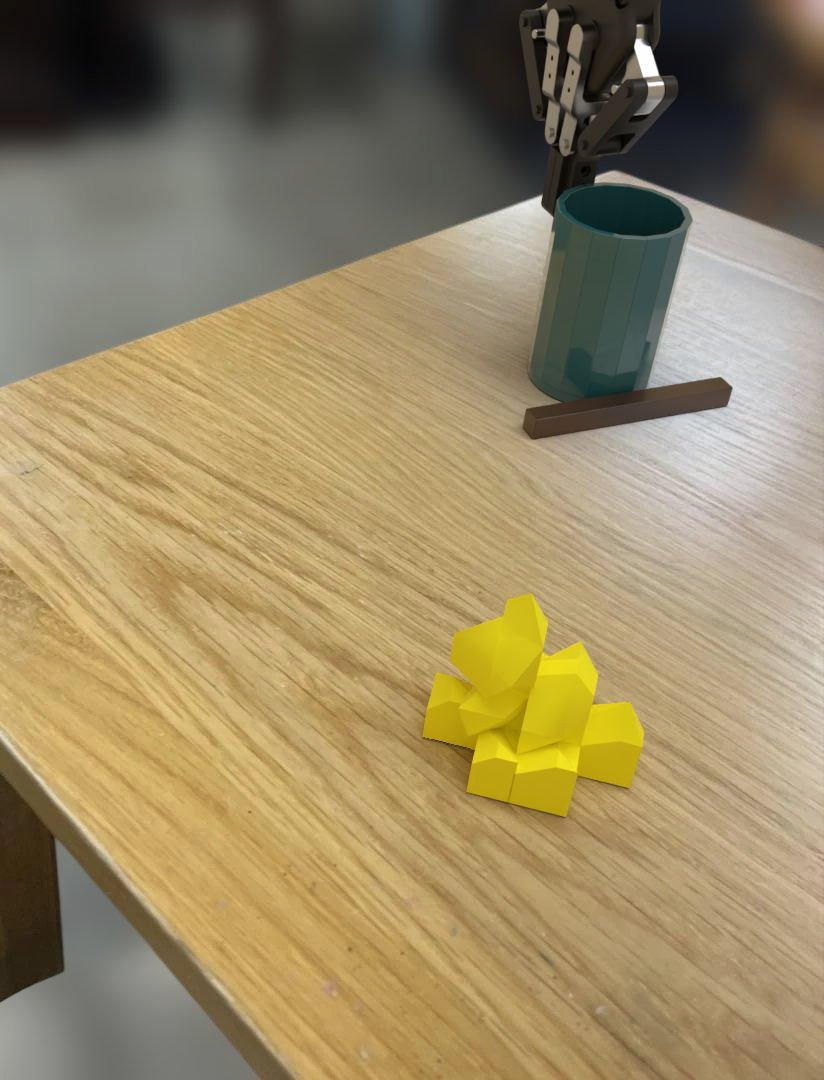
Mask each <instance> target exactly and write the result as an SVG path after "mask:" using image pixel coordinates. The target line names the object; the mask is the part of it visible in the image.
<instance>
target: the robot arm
mask: <svg viewBox="0 0 824 1080" xmlns="http://www.w3.org/2000/svg"><path fill="white" fill-rule="evenodd" d="M661 2H662V0H546V2H545V3H544V4H543V5H542V6H540V7H539V8H535V9H524V10H521V12H520V15H519V19H518V23H519V24H518V25H519V33H520V39H521V46H522V54H523V60H524V67H525V73H526V80H527V86H528V87H527V88H528V93H529V99H530V106H531V113H532V117H533V119H534V120H535V121H536V122H540V121H544V122H545V126H544V138H545V141H546V143H547V144H548V145H550V148H549V154H548V158H547V164H546V170H545V177H544V181H543V189H542V195H541V200H540V206H541V208H542V209H543V210H545V211H546V212H547V214H549V215H550V216H551V217H552V219H553V218H554V212H555V207H556V201H557V199H558V198H559V197H560V196H561V195H562V193H563V192H564V191H566V190H568V189H571V188H573V187H576V186H578V185H582V184H591V183H596V182H595V181H596V177H597V173H598V169H599V162H600V160H601V158H602V156H610V155H620V154H627V153H628V152H629V150H631V149H632V147H633V146H635V144H636V143H638V141H639V140H640V138H642V136H644V134H645V133H646V132H647V131H648V130H649V128H650V127H652V125H653V124H654V123H655V122H656V121H657V120H658V119H659V118H660V116H662V115H663V113H665V111H666V110H667V109H668V108H669V107H670V106H671V104H673V102H674V101H675V100H676V99H677V96H678V93H679V82H678V79H677V77H676V76H674V75H663V76H661V75H660V73H659V68H658V66H657V62H656V59H655V55H654V53H653V52H654V50H655V49H656V47H657V46H658V43H659V41H660V37H661V22H660V20H661V19H660V17H661V16H660V15H661V13H660V12H661Z"/></svg>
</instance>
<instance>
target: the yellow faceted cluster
mask: <svg viewBox="0 0 824 1080" xmlns="http://www.w3.org/2000/svg"><path fill="white" fill-rule="evenodd" d="M505 602H506V603H505V607H504V611H503V615H502V616H498V617H496V618H493V619H490V620H487V621H484V622H482V623H479V624H476V625H473V626H470V627H468V628H465V629H461V630H459V631H457V632H454V634H453V638H452V644H451V650H450V657H449V662H450V663H452V665H453V666H454V667H455V668H456V669H457V670H458V671H459V672H460V673H461V675H462V676H464V677H465V678H466V679H467V680H468V681H469V682H467V681H466V680H463V679H461V678H460V677H457V676H454V675H450V674H446V673H441V672H435V674H434V675H435V676H434V680H433V684H432V687H431V688H432V689H431V692H430V696H429V700H428V704H427V707H426V711H425V716H424V724H423V731H422V738H423V737H425V738H424V739H427V738H429V739H428V740H431V739H435V740H439V741H443V742H447V743H450V744H449V745H451V744H454V745H453V746H455V745H459V746H463V747H468V748H470V749H469V750H472V751H474V752H473V756H472V761H471V764H470V765H471V766H470V771H469V775H468V780H467V781H468V782H467V786H466V791H465V792H466V793H467V794H468V793H469V794H472V795H476V796H481V797H485V798H488V799H492V800H496V801H500V802H503V803H508V804H512V805H516V806H520V807H523V808H524V807H525V808H528V809H532V810H535V811H539V812H543V813H548V814H551V815H556V816H559V817H563V818H567V817H568V816H567V815H568V813H569V809H570V805H571V802H572V798H573V795H574V790H575V787H576V783H577V779H578V777H581V778H586V779H590V780H595V781H599V782H602V783H606V784H610V785H613V786H614V785H615V786H618V787H622V788H626V789H630V787H631V785H632V781H633V780H634V779H633V778H634V776H635V772H636V769H637V766H638V763H639V760H640V757H641V755H642V750H643V748H644V739H645V729H644V728H643V726H642V724H641V721H640V720H639V717H638V716H637V713H636V711H635V709H634V707H633V704H632V703H631V701H622V702H621V701H620V702H611V703H597V704H593V703H594V700H595V695H596V691H597V684H598V680H599V679H598V678H599V673H598V671H597V669H596V668H595V665H594V664H593V662H592V659H591V658H590V655H589V654H588V652H587V650H586V647H585V646H584V644H583V642H582V640H580V641H578V642H577V641H576V643H573V644H572V645H569V646H568V647H565V648H564V649H561V650H559V651H558V652H555V653H554V654H550V655H548V654H546V653H545V652H544V647H545V643H546V637H547V632H548V626H549V621H548V620H547V618H546V616H545V614H544V612H543V611H542V609H541V607H540V606H539V603H538V602H537V600H536V598H535V597H534V595H533V593H532V592H530V593H526V594H522V595H519V596H516V597H511V598H507V599H506V601H505ZM435 740H434V741H435ZM439 741H438V742H439ZM443 742H442V743H443ZM447 743H446V744H447ZM459 746H458V747H459ZM463 747H462V748H463ZM468 748H467V749H468Z"/></svg>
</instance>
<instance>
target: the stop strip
mask: <svg viewBox="0 0 824 1080" xmlns="http://www.w3.org/2000/svg"><path fill="white" fill-rule="evenodd" d="M733 390H734V388H733V386H732V385H731V384H730V383H729V382H728V381H726V380H725V379H724V378H723V377H721V376H718V377H712V378H704V379H699V380H693V381H686V382H680V383H673V384H668V385H662V386H656V387H650V388H649V387H648V389H643V390H637V391H631V392H624V393H618V394H612V395H606V396H600V397H594V398H588V399H582V400H575V401H569V402H563V401H562V402H557V403H551V404H545V405H539V406H532V407H527V408H526V409H525V411H524V417H523V423H522V428H523V429H524V430H525V432H526V433H527V434H528V435H529V436H530V438H531V439H533V440H534V439H539V438H545V437H551V436H552V437H553V436H556V435H562V434H563V435H564V434H569V433H574V432H580V431H581V432H582V431H586V430H593V429H599V428H604V427H610V426H615V425H622V424H627V423H633V422H639V421H645V420H650V419H651V420H652V419H657V418H663V417H667V416H668V417H670V416H675V415H680V414H687V413H691V412H698V411H705V410H710V409H715V408H721V407H727V406H728V405H729V402H730V400H731V399H730V398H731V396H732V392H733Z"/></svg>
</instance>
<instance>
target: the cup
mask: <svg viewBox="0 0 824 1080" xmlns="http://www.w3.org/2000/svg"><path fill="white" fill-rule="evenodd" d="M693 222H694V219H693V216H692V213H691V212H690V209H689V208H688V207H687V206H686V205H684V203H682V202H680V200H678V199H677V198H675V197H673V196H671V195H669V194H666V193H664V192H662V191H660V190H656V189H654V188H650V187H645V186H642V185H636V184H631V183H626V182H625V183H623V182H622V183H621V182H609V181H608V182H607V181H600V182H595V183H591V184H582V185H578V186H576V187H573V188H571V189H568V190H566V191H564V192H563V193H562V195H561V196H560V197H559V198H558V199H557V201H556V207H555V212H554V218H553V217H552V224H551V230H550V234H549V240H548V246H547V251H546V257H545V262H544V268H543V273H542V279H541V285H540V290H539V295H538V299H537V300H538V301H537V307H536V310H535V311H536V312H535V317H534V322H533V329H532V332H531V338H530V345H529V350H528V356H527V357H528V363H527V366H526V367H527V368H526V369H527V375H528V377H529V379H530V381H531V382H532V384H534V385H535V386H536V387H537V388H538V389H539V390H540V391H542V392H543V393H544V394H546V395H548V396H549V397H551V398H553V399H555V400H558V401H559V402H562V403H563V402H569V401H575V400H582V399H588V398H594V397H600V396H606V395H612V394H618V393H624V392H631V391H637V390H643V389H649V387H650V382H651V380H652V379H653V375H654V371H655V367H656V364H657V360H658V356H659V353H660V349H661V345H662V340H663V336H664V334H665V329H666V326H667V322H668V318H669V314H670V310H671V306H672V302H673V298H674V294H675V291H676V286H677V282H678V279H679V275H680V271H681V268H682V263H683V259H684V256H685V253H686V252H685V251H686V248H687V245H688V241H689V238H690V237H689V236H690V233H691V229H692V225H693Z"/></svg>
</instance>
